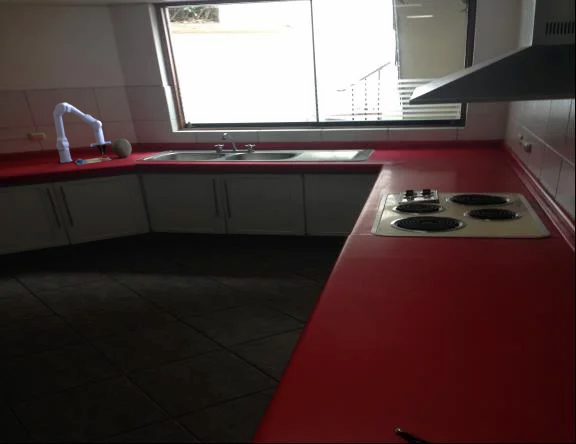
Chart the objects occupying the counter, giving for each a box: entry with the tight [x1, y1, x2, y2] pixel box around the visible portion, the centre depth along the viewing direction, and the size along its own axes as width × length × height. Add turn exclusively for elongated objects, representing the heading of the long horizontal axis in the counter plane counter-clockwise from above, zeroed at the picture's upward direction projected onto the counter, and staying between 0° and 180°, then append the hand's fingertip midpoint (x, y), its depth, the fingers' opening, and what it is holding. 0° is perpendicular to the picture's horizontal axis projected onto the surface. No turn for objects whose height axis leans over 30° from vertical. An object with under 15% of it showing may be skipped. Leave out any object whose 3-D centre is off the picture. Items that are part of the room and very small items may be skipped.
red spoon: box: [101, 151, 109, 158], centre depth 321 cm, size 11×4×3 cm, turn 33°
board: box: [74, 156, 113, 166], centre depth 318 cm, size 16×24×1 cm, turn 123°
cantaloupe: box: [111, 138, 132, 159], centre depth 321 cm, size 14×14×15 cm
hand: (103, 154), depth 323 cm, fingers closed on red spoon
